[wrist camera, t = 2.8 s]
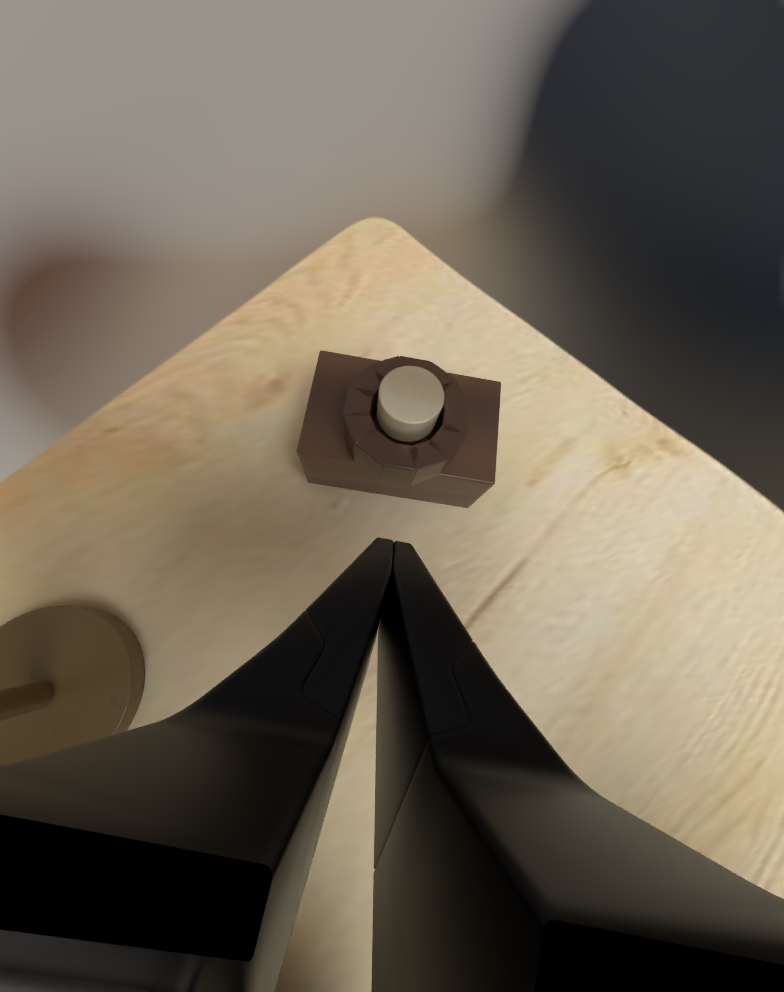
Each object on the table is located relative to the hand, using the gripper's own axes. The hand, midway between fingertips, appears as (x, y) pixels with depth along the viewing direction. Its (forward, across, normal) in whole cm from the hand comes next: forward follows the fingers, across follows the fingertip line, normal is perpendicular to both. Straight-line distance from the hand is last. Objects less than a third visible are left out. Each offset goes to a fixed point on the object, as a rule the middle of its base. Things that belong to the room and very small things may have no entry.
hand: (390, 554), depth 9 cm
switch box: (+15, 0, +3) cm, 16 cm away
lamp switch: (+10, 0, -1) cm, 10 cm away
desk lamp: (+4, +14, +15) cm, 21 cm away
